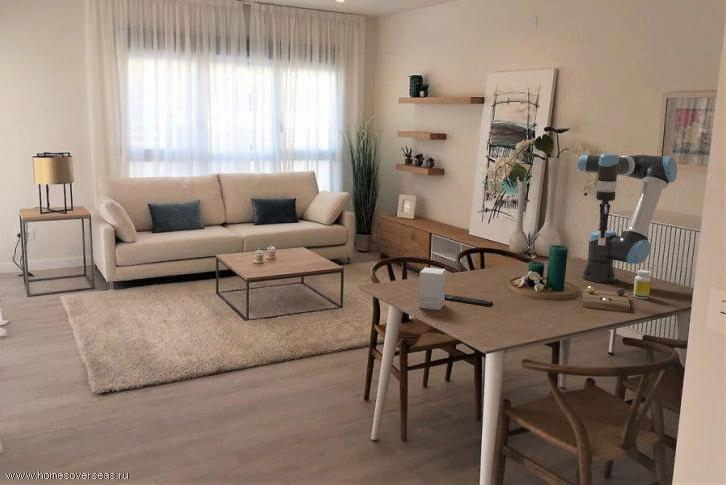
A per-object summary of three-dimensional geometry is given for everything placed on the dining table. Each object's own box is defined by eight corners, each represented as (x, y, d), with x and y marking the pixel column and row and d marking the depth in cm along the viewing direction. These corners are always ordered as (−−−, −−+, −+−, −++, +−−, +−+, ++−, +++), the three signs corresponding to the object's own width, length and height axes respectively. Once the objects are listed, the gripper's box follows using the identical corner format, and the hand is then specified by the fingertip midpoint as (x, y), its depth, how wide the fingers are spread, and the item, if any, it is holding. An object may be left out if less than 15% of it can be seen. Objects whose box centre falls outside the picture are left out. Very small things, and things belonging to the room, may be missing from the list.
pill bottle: (650, 299, 275) (653, 273, 272) (634, 298, 276) (637, 272, 273) (647, 295, 281) (650, 269, 278) (631, 294, 282) (634, 268, 280)
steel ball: (601, 300, 268) (601, 295, 265) (609, 301, 267) (610, 296, 264) (600, 306, 266) (601, 301, 263) (609, 307, 265) (609, 302, 262)
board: (582, 293, 281) (583, 288, 281) (626, 298, 276) (627, 292, 275) (582, 306, 263) (582, 300, 262) (629, 311, 257) (630, 305, 257)
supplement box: (445, 304, 262) (446, 268, 259) (440, 310, 254) (441, 274, 251) (423, 301, 265) (424, 266, 262) (418, 307, 257) (419, 271, 254)
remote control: (438, 296, 275) (438, 293, 275) (493, 304, 265) (493, 301, 265) (434, 299, 270) (434, 296, 270) (490, 308, 260) (490, 304, 260)
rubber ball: (616, 293, 273) (616, 286, 273) (624, 294, 272) (625, 287, 272) (616, 295, 270) (617, 288, 270) (624, 296, 269) (625, 289, 269)
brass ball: (586, 292, 275) (587, 284, 275) (594, 292, 274) (595, 285, 274) (586, 293, 272) (587, 286, 272) (594, 294, 271) (595, 287, 271)
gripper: (595, 188, 278) (591, 241, 283) (597, 192, 266) (593, 247, 271) (614, 188, 276) (609, 242, 281) (617, 193, 264) (612, 248, 269)
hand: (601, 244), depth 276 cm, fingers closed
